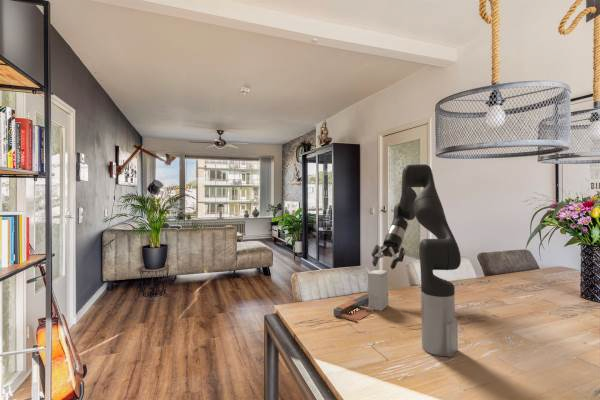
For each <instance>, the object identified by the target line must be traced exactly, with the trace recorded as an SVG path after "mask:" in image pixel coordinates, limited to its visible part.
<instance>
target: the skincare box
mask: <svg viewBox="0 0 600 400" xmlns="http://www.w3.org/2000/svg"><path fill="white" fill-rule="evenodd" d="M388 279H389V278H388V270H381V269H373V270H370V271H369V272H368V273H367V291H368V293H367V294H368V299H369V303H368V308H371V309H373V310H376V311H380V312H383V310H385V308H387V307H388V306H389V281H388Z"/></svg>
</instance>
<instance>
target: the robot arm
mask: <svg viewBox="0 0 600 400" xmlns="http://www.w3.org/2000/svg"><path fill="white" fill-rule="evenodd" d="M401 173H402V174H401V195H400V198H399V202H398V203H396V204H395V206H394V207H393V208H394V209H393V218H392V219H393V220H392V222H391V225H390V227H389V229H388V230H387V233H386V235H385V238H384V240H383V243H382V246H379V244H375V246H374V248H373V249H372V252H371V256H372V258H373V259H372V262H371V263H372V266H373V267H377V265H378V263H379V260H380V259H382V258H384V257H389V258H393V259H392V261H391V264H390V269H391V270H394V269H395V268H396V267H397V264H398V263H399V262H401V263H402V262H403V261H404V257H405V255H406V250H405V248H404V247H401V246H402V243H403V240H404V237H405V234H406V231H407V228H408V225H409V224H408V221H413V220H414V219H415V218H416V220H417V222H418V223H419V224H420V225H421V226H423V228H424V229H426V230H427V231H428V232H430V233H431V234H433V235H434V236H435V237H436V238H424V239H422V240H421V241H420V243H419V248H418V250H419V251H418V252H419V253H418V254H419V255H418V256H419V265H420V290H421V294H420V295H421V298H420V299H421V346H422V349H423V350H424V351H425V352H427V353H428V354H431V355H435V356H440V357H449V358H452V357H453V356H454V355H455V354H456V353H457V351H458V350H459V349H458V348H459V347H458V346H459V345H458V343H459V342H458V341H459V340H458V338H459V337H458V335H459V334H458V318H457V317H456V305H455V304H456V303H455V302H456V301H455V300H456V294H455V288H456V287H455V285H454V284H453V283H452V282H451V281H449V280H447V279H443V278H441V277H438V276H437V275H435V274H434V271H453V270H457V269H459V268H460V266H461V262H462V258H461V251H460V248H459V245H458V242H457V241H456V238H455V236H454V234H453V232H452V230H451V228H450V226H449V224H448V221H447V217H446V214H445V211H444V207H443V205H442V204H443V203H442V202H441V199H440V197H439V194H438V192H437V191H438V190H437V188H436V184H435V180H434V174H433V170H432V168H431V167H430V165H428V164H426V163H425V164H421V163H420V164H407V165H405V166H404V167H403V169H402V172H401ZM413 188H422V190H421V191H420V192H419V193H418V194H417V192H416V191H415V190H414V189H413ZM397 254H398V257H397Z"/></svg>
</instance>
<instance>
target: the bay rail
mask: <svg viewBox="0 0 600 400" xmlns="http://www.w3.org/2000/svg"><path fill="white" fill-rule="evenodd" d="M368 304H369V299H368V293H365V294H364V295H362V296H361V295H360V296H359V297H357V298H354V299H352V300H348V301H346V302H344V303H342V304H340V305H338V306H336V308H333V316H334V315H335V316H334V317H337V316H338V317H337V318H341V317H342V319H344V320H348V319H349V320H348V321H351V320H352V322H354V321H355V322H354V323H357V322H358V321H360V320H362V319H363V317H364V318H365V316H366V317H367V316H369V315H370V314H373V313H374V309H371V308H369V307H367V306H365V305H368ZM356 308H358V309H361V310H358V311H356V310H355V313H354V311H353V310H354V309H356ZM364 310H365V311H364ZM351 311H353V314H352V313H351ZM367 311H368V312H367ZM349 312H350V313H349ZM357 319H358V320H357ZM356 321H357V322H356Z"/></svg>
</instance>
